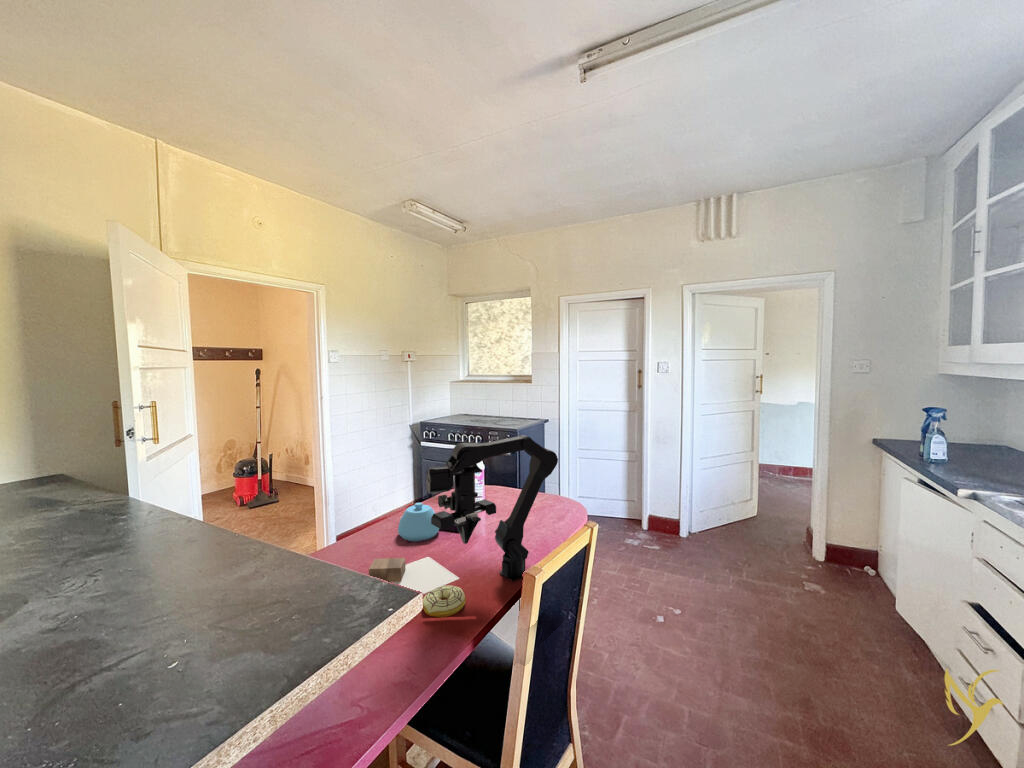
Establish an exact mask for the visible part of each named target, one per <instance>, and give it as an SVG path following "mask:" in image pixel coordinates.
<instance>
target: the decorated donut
mask: <svg viewBox="0 0 1024 768" xmlns="http://www.w3.org/2000/svg"><path fill="white" fill-rule="evenodd" d="M465 604H466V595H465V592H464V590H463V589H462V588H461V587H459V586H455V585H450V584H449V585H448V584H446V585H444V586H441V587H438V588H436V589H434V590H432V591H430V592H427V593H425V595H424V597H423V599H422V607H423V608H422V610H423V611H424V613H425V614H426V615H427V616H429V617H434V618H436V619H439V618H440V619H441V618H442V619H443V618H446V617H450V616H453V615H456V614H457V613H459V612H460V611H461V610H462V609H463V608H464V607H465Z"/></svg>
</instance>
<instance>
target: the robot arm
mask: <svg viewBox="0 0 1024 768" xmlns="http://www.w3.org/2000/svg"><path fill="white" fill-rule="evenodd" d="M517 452H525V453H526V454H527V455H528V456H530V460H529V464H528V465H529V468H528V469H529V471H528V475H527V477H526V479H525V482H524V485H523V486H522V488H521V491H520V493H519V495H518V498H517V500H516V502H515V504H514V507H513V508H512V510H511V512H510V513H511V514H510V515H509V516H508V518H507V519H506V520H505V521H504V520H502V519H500V520H499V522H498V525H497V528H496V529H495V531H494V533H495V536H494V539H495V542H496V544H497V545H498V546H499V547H500V549H501V550H502V551H503V552H504V554H502V561H501V570H500V571H499V575H501V576H503V577H504V578H506V579H508V580H509V581H511V582H516V581H519V580H520V579H523V578H522V574H523V572H524V571H525V570H526V559H527V558H528V555H529V553H530V552H529V550H528V549H527V548H526V547H525V545H523V544H522V543H523V539H524V529H525V528H524V526H525V523H526V520H527V518H528V516H529V514H530V512H531V509H532V507H533V505H534V503H535V500H536V499H537V496H538V494H539V492H540V489H541V487H542V484H543V482H544V481H545V480H546V479H547V478H548V477H549V476H550V475H552V473H553V471H554V470H555V468H556V467H557V465H558V462H559V459H558V455H557V454H556V452H554V451H553V450H551V449H548V448H546V447H543V446H541V444H539V443H537V442H536V441H534V439H532V438H531V437H530V436H527V435H525V434H520V435H517V436H514V437H507V438H504V439H497V440H494V441H489V442H488V441H487V442H484V443H483V442H459V443H457V444H456V445H455V446H454V447H453V449H452V452H451V455H450V457H449V458H448V460H447V462H446V463H445V464H444V465H445V466H440V467H433V466H432V467H430V466H429V467H428V468H427V476H426V478H425V479H426V480H425V481H426V491H427V493H428V494H436V493H443V492H451V495H450V496H448V495H447V494H443V495H438V497H437V504H438V506H439V508H442V507H443V508H444V510H441V511H438V512H435V514H433V515H432V517H431V524H432V525H434V526H436V527H438V528H439V530H443V531H444V530H447V529H451V528H453V526H456V528H457V531H458V533H459V535H460V538H461V541H462V543H463V544H464V545H466V544H468V543H469V541H470V539H471V536H472V535H473V533H474V531H475V529H476V527H477V525H478V524H479V522H481V520H482V518H480V517H479V515H478V514H479V513H482V512H484V511H485V513H486V515H488V516H490V515H494V514H496V513H497V506H496V503H494V502H493V501H490V500H487V499H485V498H483V499H481V500H478V501H477V500H476V498H477V497H479V495H478V492H477V491H476V483H475V482H476V479H475V477H476V474H479V473H483V470H482V469H481V468H480V467H479V466H478V464H480V463H481V462H483V461H485V460H486V459H489V458H493V457H497V456H503V455H507V454H511V453H512V454H513V453H517ZM452 489H454V491H450V490H452ZM447 509H449V510H451V511H454V512H451V513H449V512H448V511H446V510H447Z"/></svg>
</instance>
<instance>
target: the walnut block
mask: <svg viewBox="0 0 1024 768" xmlns="http://www.w3.org/2000/svg"><path fill="white" fill-rule="evenodd" d="M405 565H406V557H393V558H392V557H391V558H390V557H389V558H374V559H373V561H372V563H371V564H370V566H369V568H368V576H369V575H370V576H373V577H377V578H380V579H383V580H386V581H389V582H388V583H390V582H401V581H402V578H403V576H404V573H405Z"/></svg>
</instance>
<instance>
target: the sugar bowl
mask: <svg viewBox="0 0 1024 768" xmlns="http://www.w3.org/2000/svg"><path fill="white" fill-rule="evenodd" d="M434 510H435V509H433V508H432V507H431V506H430V505H429V504H428V505H427V504H424V503H423V502H416V503H414V505H411V506H409V507H407V508H406V510H404V513H402V516H401V518H400V519H399V523H398V528H397V529H398V530H397V533H398V535H399V536H400V537H401V538H402V539H403V540H405V541H407V540H408V541H409V542H423V541H422V540H424V541H427V540H430V539H432V538H434V537H435V536H436V535H437V534H438V533H439V530H440V529H439V528H438V527H436V526H434V525H432V524H431V517H432V515H433V514H435V513H436V512H435V511H434Z"/></svg>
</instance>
